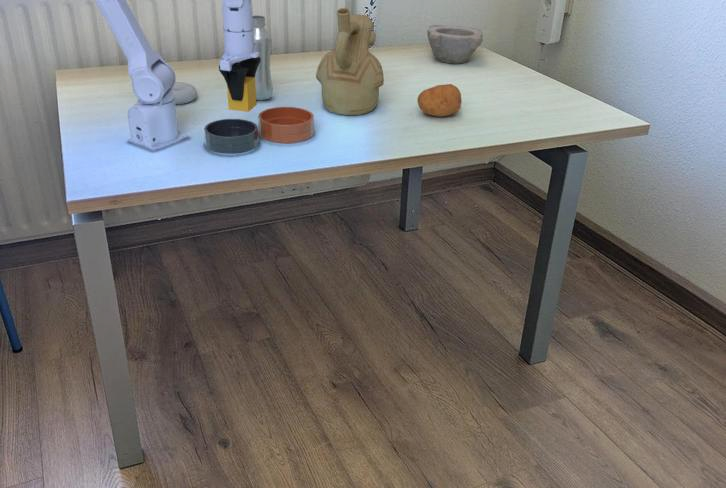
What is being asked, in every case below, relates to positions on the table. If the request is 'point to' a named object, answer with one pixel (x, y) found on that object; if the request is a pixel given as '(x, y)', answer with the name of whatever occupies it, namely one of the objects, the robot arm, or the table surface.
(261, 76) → the silver bottle
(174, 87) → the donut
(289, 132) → the bowl
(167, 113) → the robot arm
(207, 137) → the pot
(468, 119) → the table surface
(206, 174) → the table surface
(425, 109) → the potato
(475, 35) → the mortar
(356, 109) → the ceramic vessel
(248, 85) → the block
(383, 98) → the table surface
